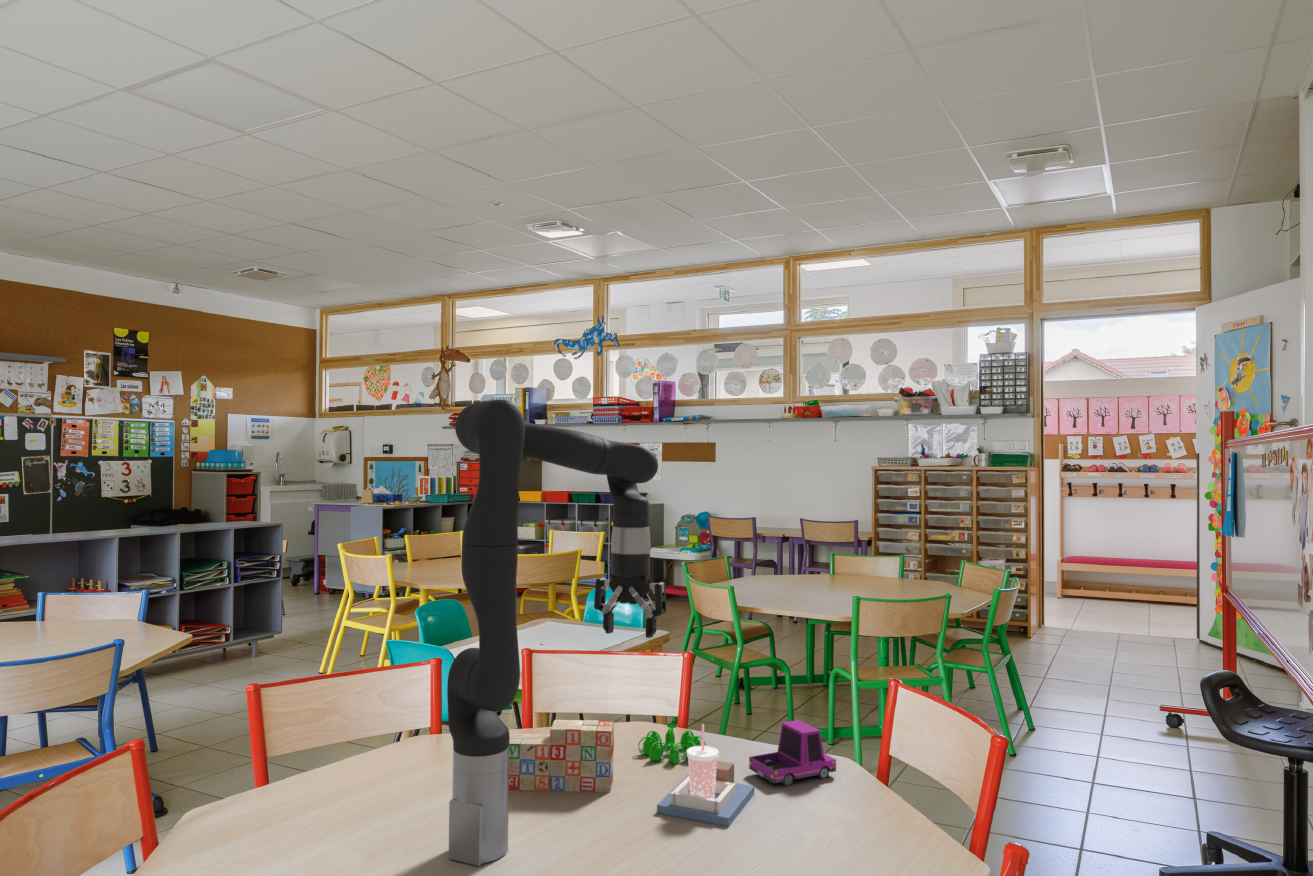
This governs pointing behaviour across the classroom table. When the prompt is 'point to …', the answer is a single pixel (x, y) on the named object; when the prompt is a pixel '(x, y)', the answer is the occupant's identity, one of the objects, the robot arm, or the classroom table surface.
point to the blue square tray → (709, 799)
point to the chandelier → (668, 744)
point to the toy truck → (794, 756)
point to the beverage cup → (702, 769)
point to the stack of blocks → (564, 757)
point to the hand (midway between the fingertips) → (629, 635)
